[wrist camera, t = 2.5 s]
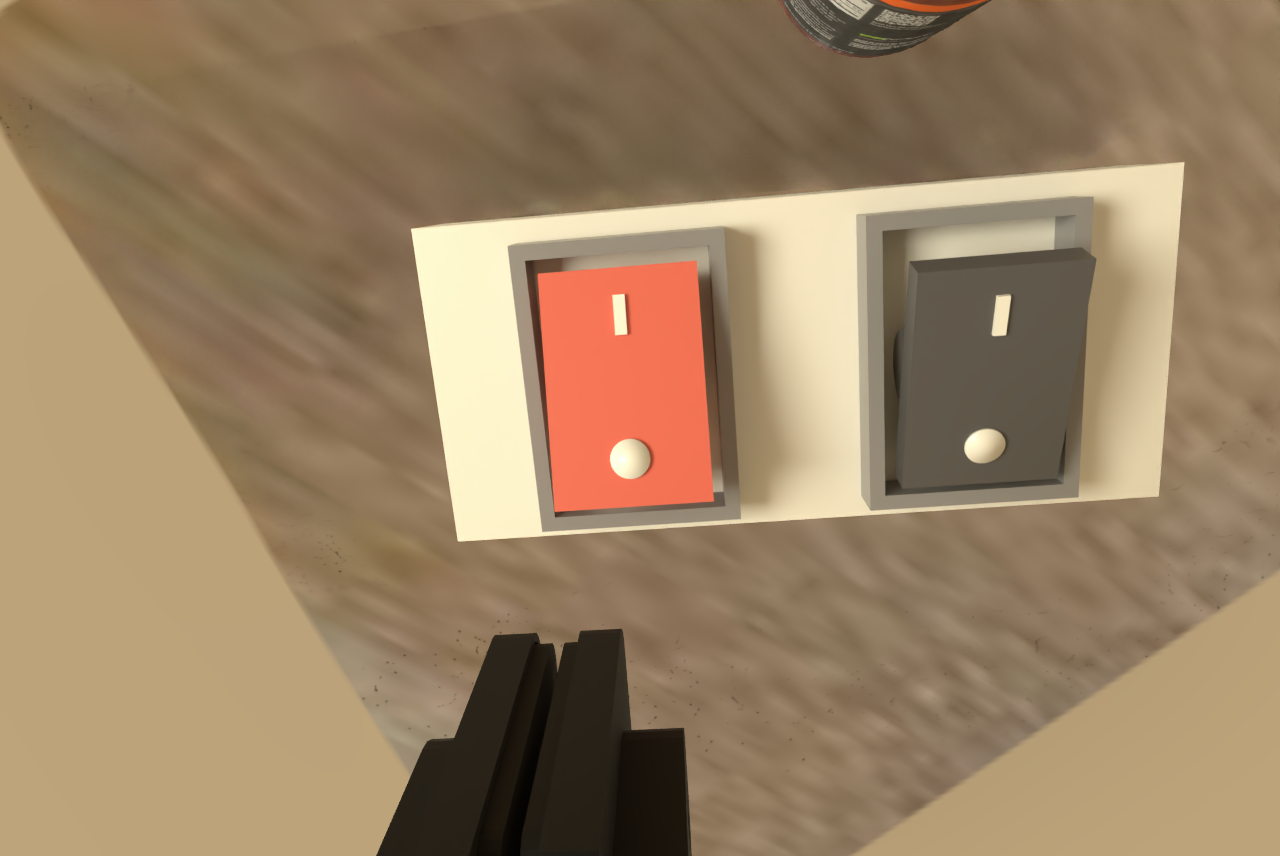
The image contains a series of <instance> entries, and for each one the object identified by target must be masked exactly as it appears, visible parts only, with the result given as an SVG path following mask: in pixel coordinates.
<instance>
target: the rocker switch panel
mask: <svg viewBox="0 0 1280 856" xmlns="http://www.w3.org/2000/svg"><path fill="white" fill-rule="evenodd" d="M1183 173H1184V162H1182V163H1163V164H1143V165H1124V166H1106V167H1094V168H1083V169H1071V170H1060V171H1048V172H1036V173H1025V174H1013V175H1002V176H990V177H978V178H967V179H955V180H944V181H932V182H921V183H909V184H897V185H886V186H874V187H863V188H851V189H839V190H828V191H816V192H805V193H793V194H781V195H770V196H758V197H747V198H735V199H724V200H712V201H700V202H689V203H677V204H666V205H654V206H642V207H631V208H619V209H608V210H596V211H585V212H573V213H561V214H550V215H538V216H527V217H515V218H503V219H492V220H480V221H469V222H457V223H447V224H440V225H434V226H427V227H421V228H414V229H411V231H412V237H413V244H414V251H415V257H416V264H417V271H418V278H419V284H420V291H421V298H422V304H423V311H424V318H425V324H426V331H427V338H428V344H429V351H430V358H431V364H432V371H433V378H434V384H435V391H436V398H437V404H438V411H439V418H440V424H441V431H442V438H443V444H444V451H445V458H446V465H447V471H448V478H449V485H450V491H451V498H452V505H453V511H454V518H455V525H456V531H457V538H458V541H473V540H488V539H504V538H519V537H535V536H550V535H566V534H581V533H597V532H612V531H628V530H643V529H659V528H674V527H690V526H705V525H721V524H736V523H752V522H767V521H783V520H798V519H814V518H829V517H845V516H860V515H876V514H892V513H907V512H923V511H938V510H954V509H969V508H985V507H1000V506H1016V505H1031V504H1047V503H1062V502H1078V501H1093V500H1109V499H1124V498H1140V497H1155V496H1159V485H1160V472H1161V459H1162V446H1163V433H1164V420H1165V407H1166V394H1167V381H1168V368H1169V355H1170V342H1171V329H1172V316H1173V303H1174V290H1175V277H1176V264H1177V251H1178V238H1179V225H1180V212H1181V199H1182V186H1183ZM1079 247H1082V248H1083V249H1085V250H1086V251H1087V252H1089V253H1090V254H1091V255H1092V256H1094V257H1095V258H1096V259H1097V260H1096V265H1095V271H1094V276H1093V282H1092V288H1091V293H1090V299H1089V304H1088V310H1087V315H1086V321H1085V326H1084V332H1083V337H1082V343H1081V348H1080V354H1079V359H1078V365H1077V370H1076V376H1075V382H1074V387H1073V393H1072V398H1071V404H1070V409H1069V415H1068V420H1067V426H1066V431H1065V437H1064V442H1063V448H1062V453H1061V459H1060V464H1059V470H1058V476H1057V479H1041V480H1026V481H1011V482H996V483H981V484H966V485H951V486H936V487H920V488H905V489H902V488H901V485H900V483H899V481H898V478H897V476H896V474H895V461H896V446H897V432H898V417H899V402H900V401H899V398H898V395H897V391H896V387H895V381H894V371H893V349H894V341H895V337H896V334H897V332H898V331H899V330H900V329H904V328H905V313H906V299H907V284H908V269H909V261H919V260H931V259H943V258H956V257H968V256H980V255H992V254H1005V253H1017V252H1029V251H1042V250H1054V249H1066V248H1079ZM685 261H697V271H698V285H699V299H700V313H701V327H702V341H703V356H704V370H705V384H706V398H707V412H708V426H709V440H710V454H711V468H712V482H713V496H714V501H712V502H697V503H682V504H667V505H652V506H636V507H621V508H606V509H591V510H576V511H561V512H555V510H554V496H553V482H552V468H551V454H550V440H549V426H548V413H547V399H546V385H545V371H544V357H543V343H542V329H541V315H540V301H539V287H538V274H539V273H552V272H564V271H576V270H588V269H600V268H612V267H624V266H637V265H649V264H661V263H673V262H685Z"/></svg>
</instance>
